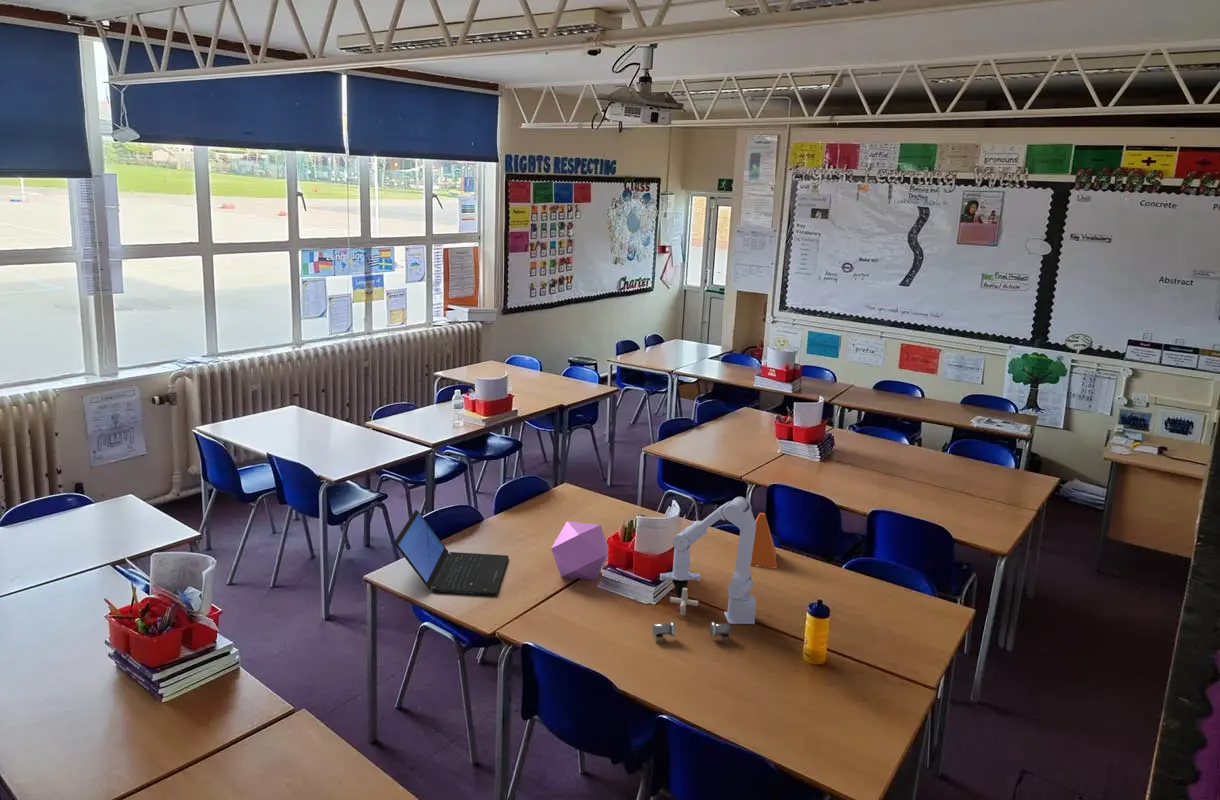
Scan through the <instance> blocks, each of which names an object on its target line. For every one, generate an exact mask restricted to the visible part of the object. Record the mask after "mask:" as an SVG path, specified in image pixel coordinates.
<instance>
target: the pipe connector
mask: <svg viewBox="0 0 1220 800" xmlns="http://www.w3.org/2000/svg"><path fill="white" fill-rule="evenodd" d="M688 590H689V589H688V588H687V587H686V588H683V590H682V596H681V598H676V596H675V597H674V596H670V597H669V603H673V604H680V605H679V610H680V616H683V617H684V616H686V613H687V612H686V611H687V606H694V607H698V606H699V600H693V599H689V594H688V592H689V591H688Z"/></svg>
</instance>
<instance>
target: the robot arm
mask: <svg viewBox="0 0 1220 800" xmlns="http://www.w3.org/2000/svg"><path fill="white" fill-rule="evenodd" d="M753 514H754V513H753V511H752V505H751V503H750V502H749V501H748V500H747V499H746V498H745V497H743V496H736V497H735V498H733V499H732V500H730V501H727V502H725V503H724V504H722V505H720V506H719V507H718V508H717V509H715V510H714V511H712V513H709V515H708V516H706V517H705V518H703V520H695V521H694V520H692V521H690V523H689V525H688V526H687V527H685V528H683V529H681V530H680V532H679V533H678V534H676V535H675V536H674V537H673V538H672V546H673V547H674V550H673V551H674V552H673V563H672V571H669V572H664V573H659V580H660V581H672V583H673V586H674V590H675V598H682V590H683V588H687V586H688V584H689V582H688V581H697V582H700V581H701V575H700V573H693V572H690V571H689V568H690V557H691V546H692V545H693V544H694V543H695V542H697V541H698V540H699V539H700V538H702V537H704V536H705V535H707V532H708V531H707V529H708V528H710V527H711V526H712V525H714V524H715V523H716V522H718V521H720V520H722V521H726V520H727V521H728V522H730V523H731V524H733V525H734V526H735V527H737V528H738V529H739V539H738V544H737V552H736V561H735V566H734V572H733V574H732V576H731V581H730V584H728V586H727V590H726V591H727V594H728V602H727V611H724V612H723V614H724V617H725V618H726V620H727V624H730V625H755V623H756V621H755V620H756V610H757V599H756V596H755V595H753V594H750V590H751V589H752V588H753V586H754V580H753V579H752V577H753V575H752V574H753V572H751V567H752V566H751V559H752V552H753V545H754V538H755V531H756V522H755V520H756V519H755V517H754V515H753Z"/></svg>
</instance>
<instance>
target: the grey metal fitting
mask: <svg viewBox="0 0 1220 800" xmlns="http://www.w3.org/2000/svg"><path fill="white" fill-rule="evenodd" d="M651 627H652V628H651V629H652V635H653V638H654V642H655V644H664V636H670V637H673V638H675V635H676V625H675V622H674V621H670V622H669V623H652V626H651Z"/></svg>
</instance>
